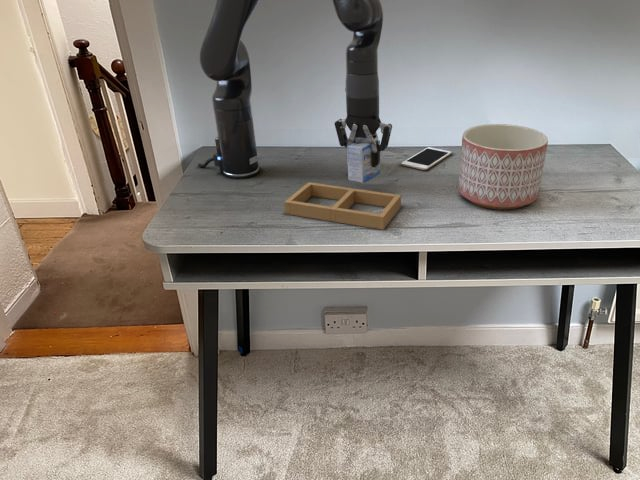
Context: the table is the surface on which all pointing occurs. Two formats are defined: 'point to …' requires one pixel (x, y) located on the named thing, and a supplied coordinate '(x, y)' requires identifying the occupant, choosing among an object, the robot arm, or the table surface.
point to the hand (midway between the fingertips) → (363, 164)
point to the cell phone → (426, 158)
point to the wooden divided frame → (343, 205)
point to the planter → (501, 165)
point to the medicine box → (361, 162)
